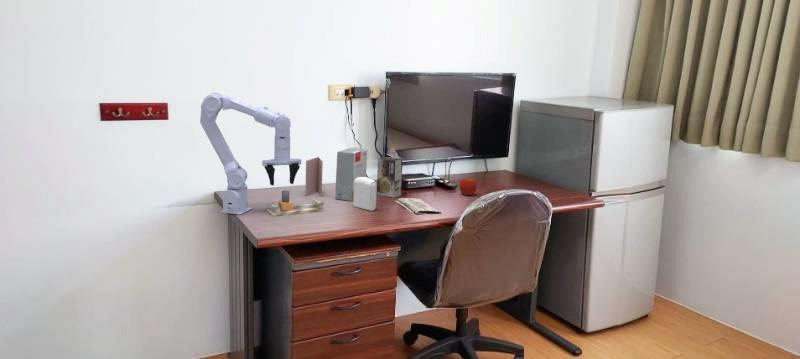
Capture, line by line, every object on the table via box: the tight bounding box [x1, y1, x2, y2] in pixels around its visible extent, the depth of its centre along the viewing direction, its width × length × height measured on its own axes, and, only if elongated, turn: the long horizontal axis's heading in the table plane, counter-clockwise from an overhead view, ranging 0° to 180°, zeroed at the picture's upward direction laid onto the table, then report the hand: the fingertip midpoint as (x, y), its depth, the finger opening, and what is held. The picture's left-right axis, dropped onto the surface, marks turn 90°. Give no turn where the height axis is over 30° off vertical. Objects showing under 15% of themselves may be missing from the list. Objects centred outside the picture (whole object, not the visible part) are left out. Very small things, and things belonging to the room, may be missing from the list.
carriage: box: [277, 190, 294, 211], centre depth 236 cm, size 4×4×7 cm
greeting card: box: [304, 156, 324, 198], centre depth 267 cm, size 11×7×15 cm, turn 161°
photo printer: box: [352, 176, 377, 211], centre depth 248 cm, size 10×4×12 cm, turn 47°
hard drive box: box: [334, 147, 368, 202], centre depth 265 cm, size 16×8×20 cm, turn 161°
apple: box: [459, 178, 478, 196], centre depth 281 cm, size 8×8×8 cm
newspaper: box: [395, 197, 441, 215], centre depth 254 cm, size 23×12×2 cm, turn 19°
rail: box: [266, 198, 325, 217], centre depth 239 cm, size 20×7×4 cm, turn 121°
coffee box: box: [376, 156, 403, 198], centre depth 272 cm, size 9×6×16 cm
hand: (281, 184), depth 236 cm, fingers open, 7 cm apart
